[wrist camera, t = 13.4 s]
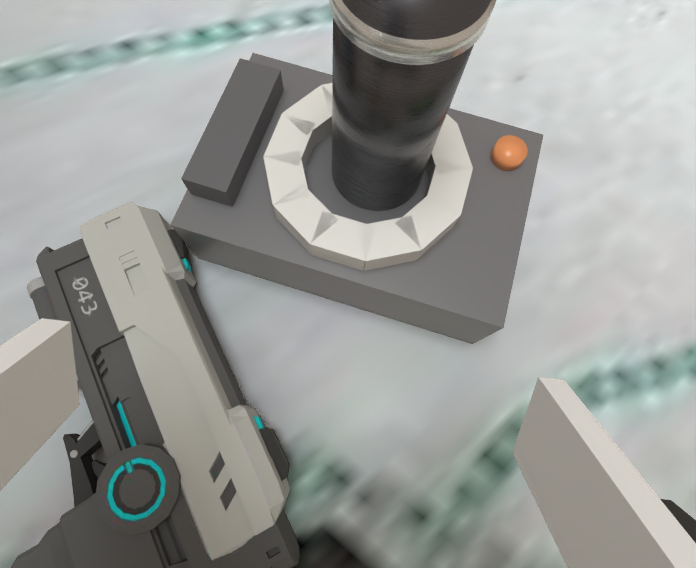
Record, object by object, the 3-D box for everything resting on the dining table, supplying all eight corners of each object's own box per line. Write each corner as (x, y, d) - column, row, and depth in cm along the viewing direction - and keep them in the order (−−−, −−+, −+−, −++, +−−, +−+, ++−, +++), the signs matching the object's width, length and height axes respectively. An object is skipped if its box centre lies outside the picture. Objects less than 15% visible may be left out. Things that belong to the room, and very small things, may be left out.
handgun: (-53, 322, 26) (179, 218, 29) (59, 713, 21) (332, 546, 23) (-122, 305, 22) (155, 187, 25) (-5, 783, 17) (332, 573, 20)
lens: (316, 198, 24) (304, -14, 12) (344, 119, 25) (358, -137, 13) (410, 225, 23) (492, 36, 12) (432, 144, 25) (524, -94, 13)
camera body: (198, 258, 28) (158, 211, 21) (265, 108, 31) (248, 30, 25) (472, 343, 27) (516, 321, 20) (509, 179, 30) (556, 116, 24)
